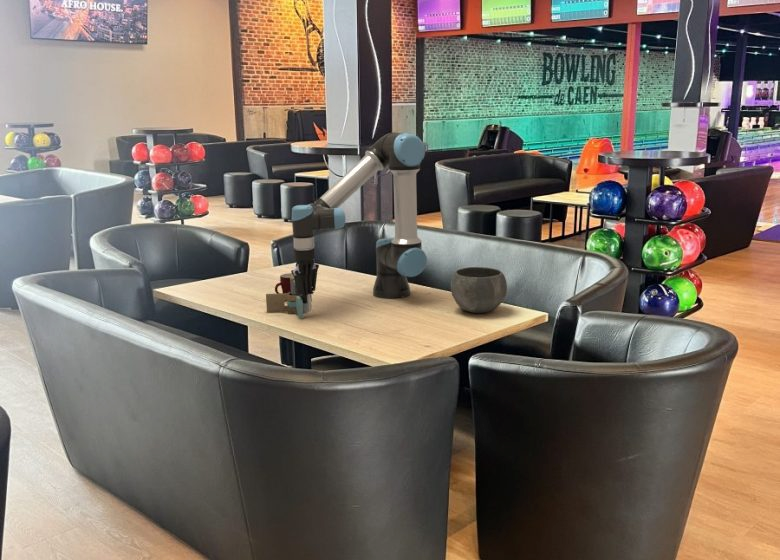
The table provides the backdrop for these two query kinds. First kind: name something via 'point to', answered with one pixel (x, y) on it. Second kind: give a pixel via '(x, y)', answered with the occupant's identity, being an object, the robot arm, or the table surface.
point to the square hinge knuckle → (281, 302)
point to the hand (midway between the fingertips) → (307, 311)
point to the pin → (293, 287)
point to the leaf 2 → (297, 306)
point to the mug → (284, 283)
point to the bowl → (478, 289)
